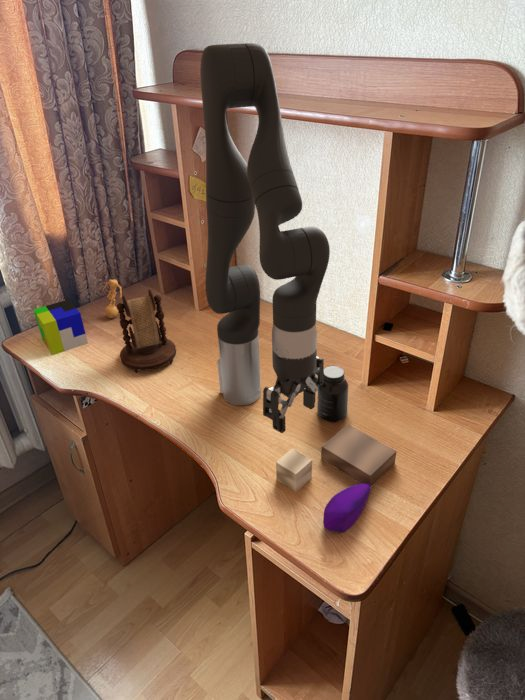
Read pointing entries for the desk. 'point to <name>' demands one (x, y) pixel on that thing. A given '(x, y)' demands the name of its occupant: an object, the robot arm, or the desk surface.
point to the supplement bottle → (333, 395)
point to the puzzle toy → (61, 326)
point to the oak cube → (294, 469)
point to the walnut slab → (358, 455)
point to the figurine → (112, 298)
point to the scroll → (144, 334)
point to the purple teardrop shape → (346, 507)
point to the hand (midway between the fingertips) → (294, 418)
